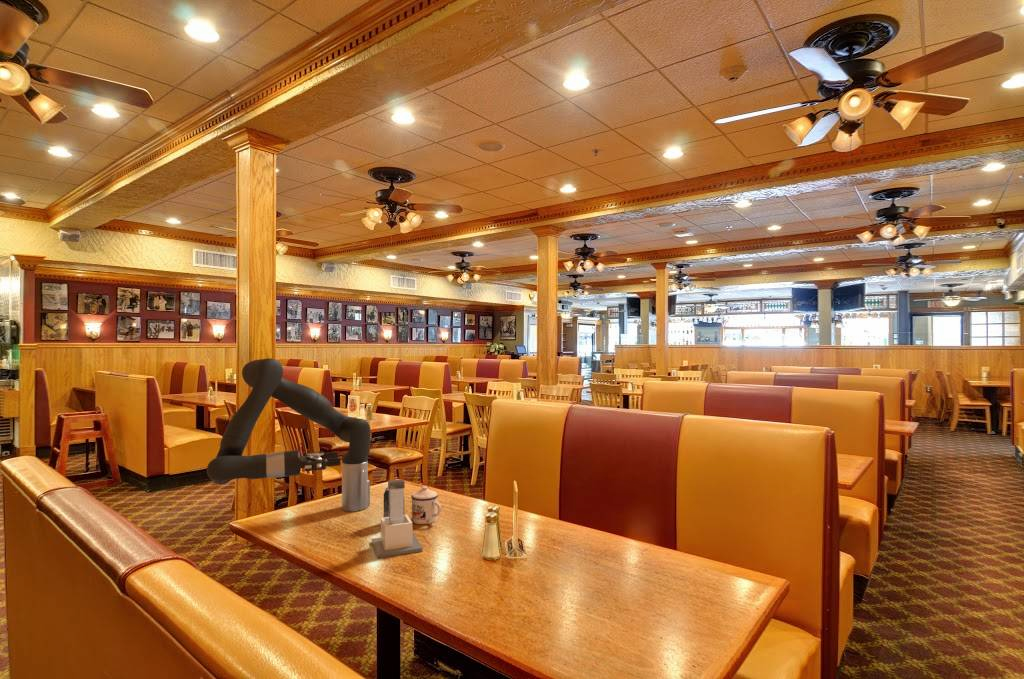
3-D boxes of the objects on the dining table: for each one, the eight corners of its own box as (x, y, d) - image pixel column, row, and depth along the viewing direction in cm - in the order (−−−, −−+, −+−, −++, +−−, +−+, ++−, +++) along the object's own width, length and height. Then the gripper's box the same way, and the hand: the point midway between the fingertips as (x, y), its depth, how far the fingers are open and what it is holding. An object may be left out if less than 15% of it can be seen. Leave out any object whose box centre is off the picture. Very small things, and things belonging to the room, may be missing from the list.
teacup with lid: (405, 521, 187) (405, 487, 187) (424, 514, 195) (424, 481, 194) (431, 528, 180) (431, 493, 180) (449, 520, 188) (449, 487, 188)
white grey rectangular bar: (388, 539, 166) (387, 480, 165) (402, 537, 167) (402, 479, 167) (389, 542, 163) (389, 482, 163) (404, 540, 165) (404, 481, 164)
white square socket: (371, 541, 169) (371, 516, 169) (413, 536, 174) (413, 511, 173) (377, 558, 157) (377, 530, 157) (422, 551, 162) (422, 524, 161)
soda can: (406, 520, 188) (406, 485, 188) (400, 527, 181) (400, 491, 181) (387, 519, 189) (387, 485, 189) (380, 526, 182) (380, 491, 182)
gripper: (282, 457, 157) (341, 451, 164) (282, 446, 171) (336, 442, 177) (283, 482, 158) (341, 476, 164) (283, 470, 171) (337, 464, 177)
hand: (339, 458), depth 170 cm, fingers open, 8 cm apart
